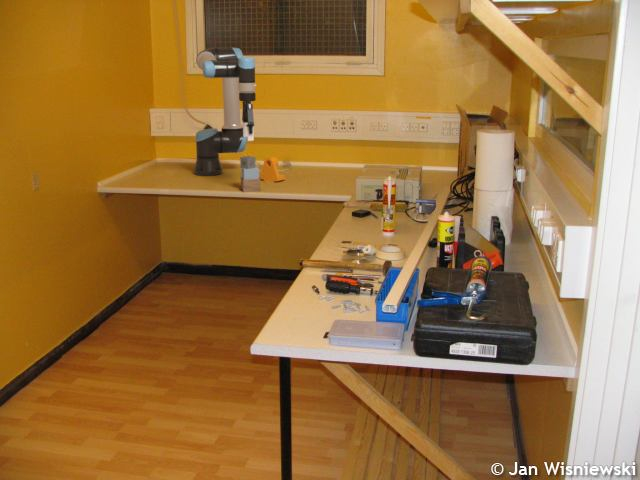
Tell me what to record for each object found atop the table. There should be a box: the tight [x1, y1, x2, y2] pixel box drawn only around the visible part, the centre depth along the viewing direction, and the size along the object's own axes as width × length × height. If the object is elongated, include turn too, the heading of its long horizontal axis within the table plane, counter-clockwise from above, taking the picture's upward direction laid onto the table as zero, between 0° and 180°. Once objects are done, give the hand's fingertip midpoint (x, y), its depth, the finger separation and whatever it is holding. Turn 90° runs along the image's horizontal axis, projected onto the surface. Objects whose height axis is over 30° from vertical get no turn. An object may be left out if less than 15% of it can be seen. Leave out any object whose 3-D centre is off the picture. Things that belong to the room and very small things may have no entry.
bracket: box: [259, 156, 286, 183], centre depth 342 cm, size 11×7×12 cm, turn 57°
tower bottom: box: [240, 176, 261, 193], centre depth 321 cm, size 8×8×6 cm
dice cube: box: [239, 155, 257, 169], centre depth 317 cm, size 5×5×5 cm
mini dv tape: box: [414, 198, 437, 215], centre depth 277 cm, size 8×2×6 cm, turn 78°
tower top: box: [240, 165, 260, 180], centre depth 319 cm, size 7×7×5 cm
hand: (248, 138), depth 315 cm, fingers open, 13 cm apart
